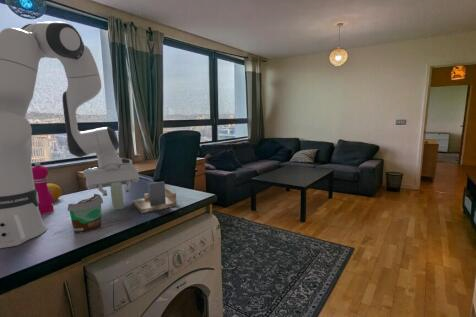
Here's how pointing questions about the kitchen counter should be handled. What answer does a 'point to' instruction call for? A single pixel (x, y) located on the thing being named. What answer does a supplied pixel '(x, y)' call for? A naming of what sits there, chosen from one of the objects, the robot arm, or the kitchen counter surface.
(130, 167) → the robot arm
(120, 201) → the pale green block
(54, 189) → the fruit
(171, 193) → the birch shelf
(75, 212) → the food container
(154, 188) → the gray rectangular slab
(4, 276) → the kitchen counter surface
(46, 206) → the pepper mill
